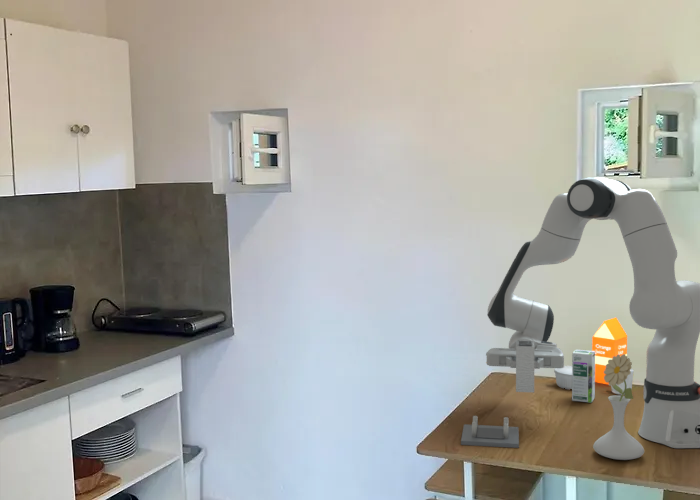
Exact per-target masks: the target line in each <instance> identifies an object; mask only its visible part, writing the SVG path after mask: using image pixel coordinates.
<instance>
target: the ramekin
mask: <svg viewBox="0 0 700 500" xmlns="http://www.w3.org/2000/svg"><path fill="white" fill-rule="evenodd" d="M553 369H554V375H555V376H554V377H555V383H556V385H557V386H558V388H561V389H564V388H565V390H570V389H572V365H564V367H563V368H553Z"/></svg>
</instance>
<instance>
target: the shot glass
mask: <svg viewBox="0 0 700 500" xmlns="http://www.w3.org/2000/svg"><path fill="white" fill-rule="evenodd" d="M630 371H631V373H630V374H629V375H628V376H627V379H626V380H625V381H626V385H627V387H626V389H627V388H631V390H632V389H633V388H632V387H633V382H634V381H633V380H634V371H635V370H634V369H632V368H631V370H630ZM616 385H617V384H616ZM617 386H618V387H620V388H621V389H622V391H623V392H624V389H625V383H624V382H623V383H621V384H619V385H617ZM610 388H611V393H613V394H616V395H620V396H621V395H622V394H621V393H619V392H618V391H616V390H615V389H614V388H613V387H612V385H611V386H610ZM623 396H625V393H624V395H623Z"/></svg>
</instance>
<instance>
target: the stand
mask: <svg viewBox="0 0 700 500" xmlns="http://www.w3.org/2000/svg"><path fill="white" fill-rule="evenodd" d="M478 418H479V417H478V416H477V415H472V422H471V424H465V423H464V424H463V427H462V434H461V439H460V446H476V447H478V446H479V447H495V448H496V447H499V448H515V449H519V448H520V436H519V433H520V431H519V426H509V424H510V423H509V422H510V421H509V417H508V416H505V417H503V425H484V424H478V423H479V422H478V421H479V420H478Z"/></svg>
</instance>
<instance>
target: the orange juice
mask: <svg viewBox="0 0 700 500" xmlns="http://www.w3.org/2000/svg"><path fill="white" fill-rule="evenodd" d="M591 339H592V340H591V341H592V343H591V345H592V347H591V351H595V383H598V384H604V385H608V386H609V384H608V383H609V382H608V383H606V382H605V380H604V376H605V375H606V374H604V370H605V368H606V365H607V364H608V360H610V359H611V360H612V358H613V356H617V355H618V354H619V355H620V357H621V355H623V354H625V356H627V357H628V335H627V333H626V331H625V330H624V328H623V326H622V324H621V323H620V321H619V320H618V318H617V317H613V318H610V319H606V320H604V321H603V322H602V324H601V325H600V326H599V327H598V329H597V331H596V332H595V333H594V334H593V336H592V338H591Z"/></svg>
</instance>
